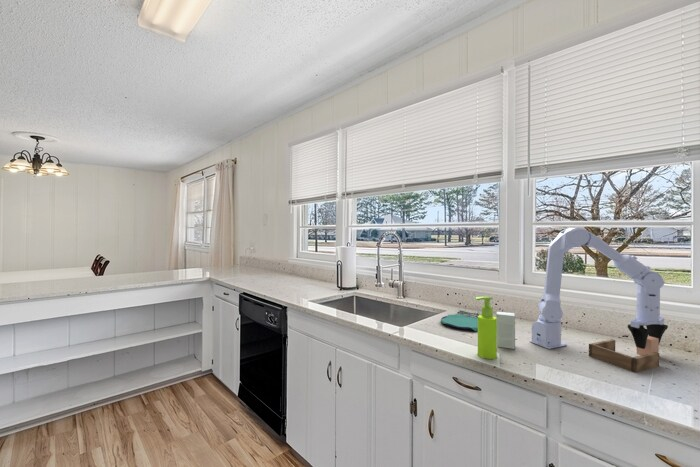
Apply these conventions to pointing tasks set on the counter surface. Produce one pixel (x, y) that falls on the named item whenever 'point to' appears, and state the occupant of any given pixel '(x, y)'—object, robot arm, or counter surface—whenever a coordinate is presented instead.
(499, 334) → the skincare box
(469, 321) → the teal flat rounded piece
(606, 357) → the open-sided box
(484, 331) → the soap dispenser
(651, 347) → the terracotta block
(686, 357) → the counter surface
